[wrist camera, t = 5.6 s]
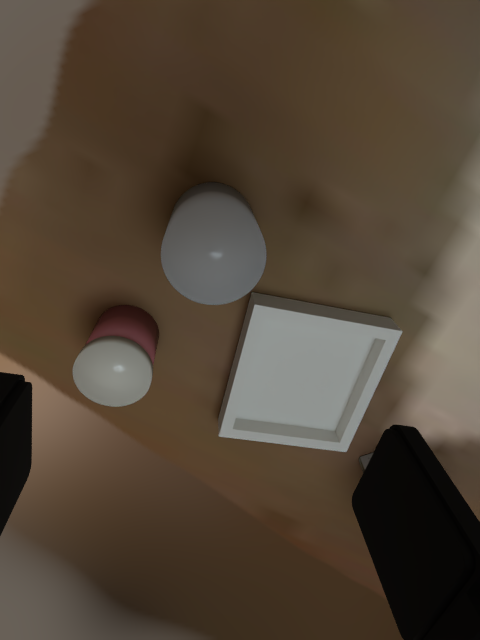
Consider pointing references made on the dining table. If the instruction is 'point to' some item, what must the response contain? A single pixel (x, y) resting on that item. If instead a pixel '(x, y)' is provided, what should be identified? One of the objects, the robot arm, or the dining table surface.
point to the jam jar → (118, 357)
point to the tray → (304, 373)
